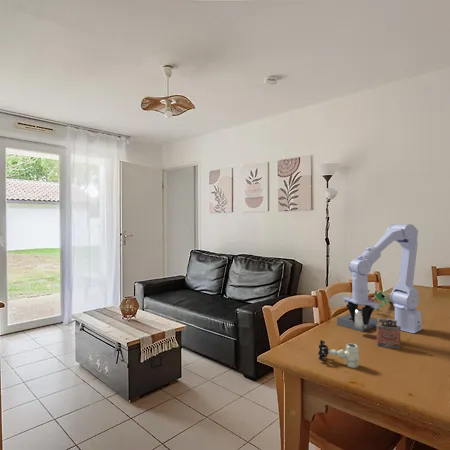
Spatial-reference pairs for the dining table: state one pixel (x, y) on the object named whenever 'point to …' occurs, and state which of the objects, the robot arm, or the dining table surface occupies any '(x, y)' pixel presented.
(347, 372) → the dining table surface
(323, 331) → the dining table surface
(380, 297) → the flower vase
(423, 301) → the dining table surface
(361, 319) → the bushing
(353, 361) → the valve
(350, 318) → the block
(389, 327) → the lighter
